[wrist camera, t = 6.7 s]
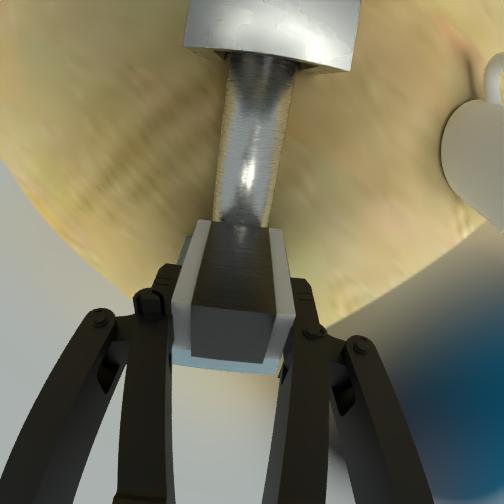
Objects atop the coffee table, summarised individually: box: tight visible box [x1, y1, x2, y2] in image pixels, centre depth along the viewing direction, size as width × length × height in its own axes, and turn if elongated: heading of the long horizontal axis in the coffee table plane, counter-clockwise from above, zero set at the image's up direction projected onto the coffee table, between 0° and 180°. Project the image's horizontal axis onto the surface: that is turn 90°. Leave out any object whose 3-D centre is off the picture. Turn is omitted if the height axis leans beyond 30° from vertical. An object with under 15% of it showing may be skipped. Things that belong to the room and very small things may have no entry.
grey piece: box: [191, 52, 297, 364], centre depth 13 cm, size 15×3×9 cm, turn 172°
